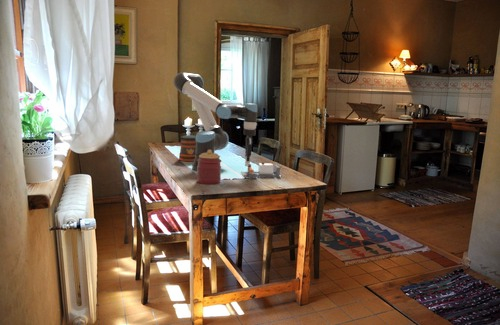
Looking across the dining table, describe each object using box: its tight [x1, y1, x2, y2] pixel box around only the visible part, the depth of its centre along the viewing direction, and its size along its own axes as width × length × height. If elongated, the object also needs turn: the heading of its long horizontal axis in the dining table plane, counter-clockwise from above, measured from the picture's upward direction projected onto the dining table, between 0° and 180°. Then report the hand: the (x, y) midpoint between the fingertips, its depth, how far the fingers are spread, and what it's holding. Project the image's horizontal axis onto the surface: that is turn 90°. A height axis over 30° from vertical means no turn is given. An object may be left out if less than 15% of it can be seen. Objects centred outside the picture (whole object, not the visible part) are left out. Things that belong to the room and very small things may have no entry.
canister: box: [196, 150, 222, 185], centre depth 208 cm, size 13×13×18 cm
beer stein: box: [178, 134, 196, 163], centre depth 267 cm, size 19×15×20 cm
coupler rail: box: [240, 164, 281, 180], centre depth 230 cm, size 22×16×6 cm
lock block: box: [257, 162, 274, 175], centre depth 233 cm, size 8×6×7 cm
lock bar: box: [247, 164, 255, 173], centre depth 232 cm, size 2×12×4 cm, turn 9°
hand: (247, 166), depth 242 cm, fingers closed
